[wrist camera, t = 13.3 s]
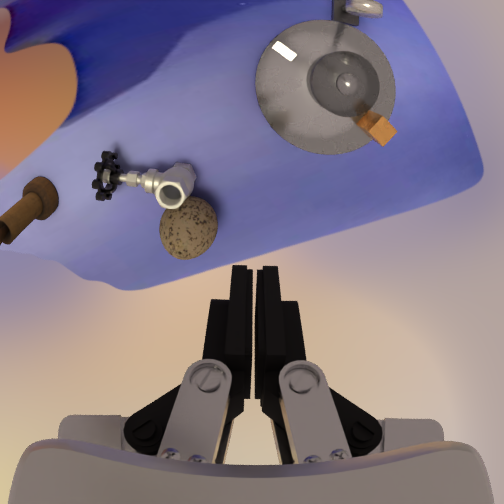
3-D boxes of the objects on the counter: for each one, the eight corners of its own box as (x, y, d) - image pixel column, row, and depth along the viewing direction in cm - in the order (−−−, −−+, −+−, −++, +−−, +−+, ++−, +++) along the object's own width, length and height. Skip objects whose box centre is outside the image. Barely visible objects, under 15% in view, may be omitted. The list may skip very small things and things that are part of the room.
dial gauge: (329, -7, 22) (352, -27, 15) (358, -1, 22) (388, -17, 15) (328, 21, 25) (352, 7, 18) (358, 26, 25) (388, 17, 18)
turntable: (226, 96, 29) (221, 100, 25) (314, -3, 22) (325, -16, 17) (332, 176, 35) (344, 194, 30) (413, 88, 27) (436, 94, 23)
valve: (201, 152, 35) (114, 143, 34) (191, 170, 29) (90, 159, 28) (195, 199, 39) (113, 188, 37) (185, 224, 33) (93, 210, 32)
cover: (292, 80, 27) (298, 81, 23) (337, 40, 24) (349, 37, 20) (337, 124, 30) (348, 132, 26) (379, 86, 27) (395, 90, 23)
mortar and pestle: (24, 183, 36) (-47, 245, 21) (49, 171, 35) (-29, 235, 20) (39, 217, 39) (-23, 286, 25) (64, 208, 39) (-2, 282, 24)
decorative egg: (211, 239, 42) (202, 285, 34) (164, 224, 41) (143, 267, 32) (227, 196, 38) (220, 236, 30) (176, 179, 37) (154, 215, 29)
